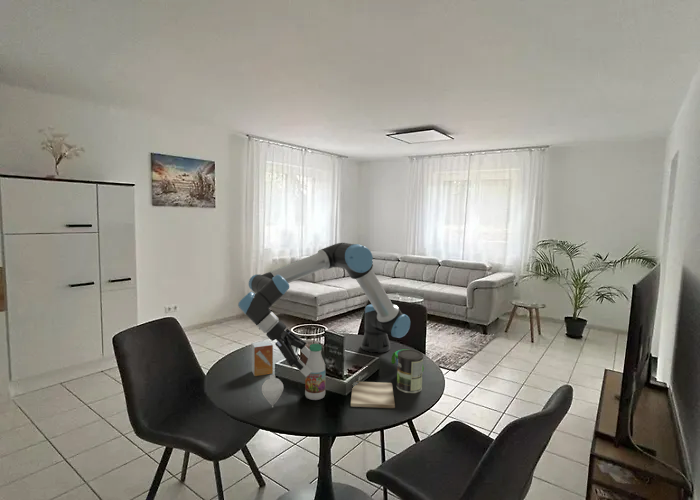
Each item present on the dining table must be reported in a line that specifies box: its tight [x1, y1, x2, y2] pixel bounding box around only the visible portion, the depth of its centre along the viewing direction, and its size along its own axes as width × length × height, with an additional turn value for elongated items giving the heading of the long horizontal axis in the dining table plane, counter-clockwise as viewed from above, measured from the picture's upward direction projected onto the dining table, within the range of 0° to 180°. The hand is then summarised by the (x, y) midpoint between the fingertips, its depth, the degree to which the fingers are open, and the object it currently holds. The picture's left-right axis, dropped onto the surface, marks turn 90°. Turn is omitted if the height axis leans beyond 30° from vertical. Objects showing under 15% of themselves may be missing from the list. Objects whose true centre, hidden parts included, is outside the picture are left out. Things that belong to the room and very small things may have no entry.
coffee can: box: [396, 349, 424, 394], centre depth 155 cm, size 10×10×14 cm
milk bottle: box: [304, 343, 326, 401], centre depth 146 cm, size 8×8×20 cm
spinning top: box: [261, 374, 284, 408], centre depth 138 cm, size 8×8×12 cm
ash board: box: [350, 381, 396, 409], centre depth 148 cm, size 18×16×1 cm
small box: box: [251, 340, 274, 377], centre depth 167 cm, size 8×6×13 cm
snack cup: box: [390, 348, 425, 373], centre depth 166 cm, size 16×10×10 cm
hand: (311, 366), depth 146 cm, fingers open, 13 cm apart
